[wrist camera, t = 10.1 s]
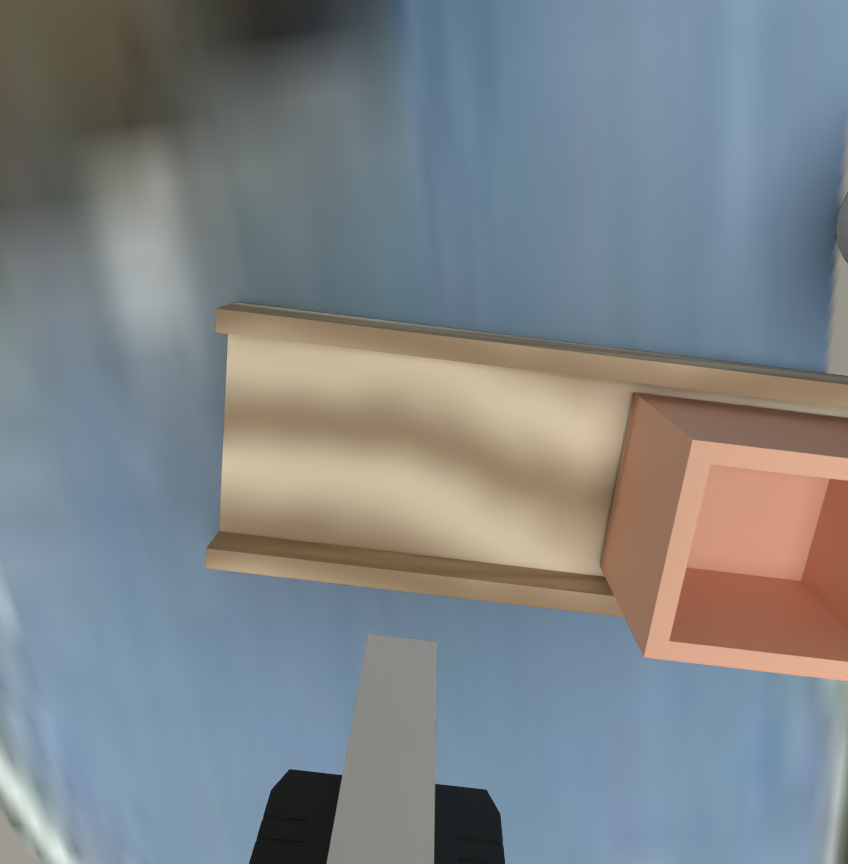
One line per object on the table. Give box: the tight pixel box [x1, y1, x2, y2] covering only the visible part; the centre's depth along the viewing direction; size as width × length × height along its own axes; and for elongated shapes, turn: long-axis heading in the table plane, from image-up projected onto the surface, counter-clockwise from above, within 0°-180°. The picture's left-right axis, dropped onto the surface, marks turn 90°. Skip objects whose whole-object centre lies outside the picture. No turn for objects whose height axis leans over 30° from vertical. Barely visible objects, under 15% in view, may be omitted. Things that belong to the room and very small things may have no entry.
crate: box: [600, 392, 848, 681], centre depth 30 cm, size 9×10×8 cm
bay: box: [206, 302, 848, 617], centre depth 31 cm, size 12×30×8 cm, turn 83°
